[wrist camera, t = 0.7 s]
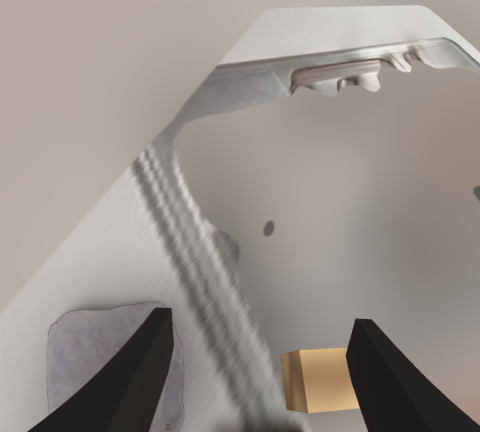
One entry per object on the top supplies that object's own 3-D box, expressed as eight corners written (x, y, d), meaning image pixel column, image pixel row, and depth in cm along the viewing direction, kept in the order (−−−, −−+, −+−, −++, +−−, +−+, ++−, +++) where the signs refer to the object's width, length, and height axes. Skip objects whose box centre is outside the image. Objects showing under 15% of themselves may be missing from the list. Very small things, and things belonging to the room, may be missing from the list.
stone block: (163, 302, 31) (47, 322, 26) (175, 289, 27) (43, 310, 22) (185, 438, 26) (49, 495, 21) (203, 445, 23) (44, 516, 17)
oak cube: (331, 405, 28) (359, 407, 24) (286, 409, 27) (308, 413, 23) (322, 352, 30) (346, 347, 27) (280, 354, 29) (299, 349, 26)
